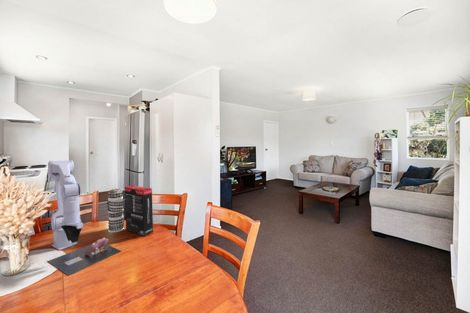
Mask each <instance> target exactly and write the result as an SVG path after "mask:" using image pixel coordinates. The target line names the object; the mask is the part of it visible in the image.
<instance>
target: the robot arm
mask: <svg viewBox="0 0 470 313" xmlns="http://www.w3.org/2000/svg"><path fill="white" fill-rule="evenodd" d="M47 167H48V168H47V169H48V176H49V178H51V179H53V180H54V181H55V189H56V202H57V210H56V211H55V212H53V214H52V215H51V221H50V222H51V229H52V231H53V232H52V233H53V244H51V246H52V247H53V248H55V249H56V250H58V251H61V250H64V249H67V248H69V247H73V246H76V245H78V243H79V242H78V241H79V237H80V234H81V231H82V230H83V228H84V223H83V222H82V220H81V219H82V218H81V211H80V209H81V208H80V196H81V192H82V190H81V185H80V183H79V182H77V180H76V178H75V176H74V175H73V173H74V171H75V162H74V161H73V160H72V159H69V160H49V161H48V162H47Z"/></svg>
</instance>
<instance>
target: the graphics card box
mask: <svg viewBox="0 0 470 313" xmlns="http://www.w3.org/2000/svg"><path fill="white" fill-rule="evenodd" d="M124 208H125V209H124V210H125V230H126V231H127V232H128V231H129V232H131V233H134V234H137V235H140V236H143V237H145V236H147V235H150V234H151V233H153V232H154V222H153V218H154V217H153V188H152V187H145V186H137V185H133V184H132V185H126V186H124Z"/></svg>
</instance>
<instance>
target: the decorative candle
mask: <svg viewBox="0 0 470 313" xmlns="http://www.w3.org/2000/svg"><path fill="white" fill-rule="evenodd" d="M107 195H108V196H107V200H106V202H107V203H106V205H107V213H108V219H107V221H108V226H107V227H108V233H112V234H113V233H118V232H119V233H120V232H121V231H124V230H125V216H124V210H125V209H124V208H125V197H123V190H122V189H121V188H112V189H110V190H109V191H108V192H107ZM123 229H124V230H123Z"/></svg>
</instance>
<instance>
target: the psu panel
mask: <svg viewBox="0 0 470 313" xmlns="http://www.w3.org/2000/svg"><path fill="white" fill-rule="evenodd" d="M92 244H93V243H91V244H89V245H86V246H83V247H80V248H78V249H75V250H74V251H70V252H67V253H65V254H63V255H60V256H57V257H54V258H52V259H49V260H47V262H48V264H50V265H52V266H53V267H54V268H57V269H58V270H59V271H60V272H62V273H63V274H65V275H67V276H71V275H73V274H75V273H77V272H80V271H82V270H85V269H86V268H88V267H90V266H91V267H92V265H95V264H98V263H99V262H102V261H104V260H106V259H109V258H111V257H112V256H114V255H117V254H119V253H121V252H122V250H120V249H118V248H115V247H113V246H111V245H109V244H108V243H107V244H106V245H105V246H104V248H103V249H101V250H100V249H99V250H98V251H97V252H96V253H94V252H92V253H91V254H89V255H85V251H86V250H87V249H88V248H89V247H90V246H91V245H92Z"/></svg>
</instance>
